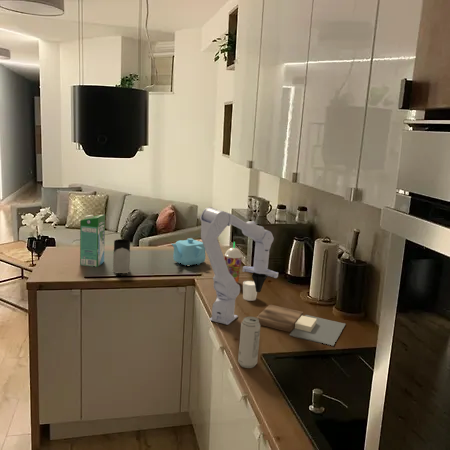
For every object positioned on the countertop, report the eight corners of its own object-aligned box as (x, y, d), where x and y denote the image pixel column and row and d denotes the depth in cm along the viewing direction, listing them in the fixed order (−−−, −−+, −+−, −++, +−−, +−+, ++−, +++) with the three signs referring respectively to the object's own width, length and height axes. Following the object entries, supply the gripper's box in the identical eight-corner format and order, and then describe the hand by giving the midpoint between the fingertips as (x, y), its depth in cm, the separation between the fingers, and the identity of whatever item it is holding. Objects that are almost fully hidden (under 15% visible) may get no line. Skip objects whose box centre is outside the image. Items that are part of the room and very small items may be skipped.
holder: (112, 274, 228) (112, 243, 225) (111, 265, 242) (112, 236, 239) (131, 273, 231) (131, 243, 227) (129, 265, 244) (130, 236, 241)
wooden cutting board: (290, 332, 177) (291, 325, 177) (255, 323, 183) (255, 317, 182) (302, 317, 192) (303, 311, 191) (269, 310, 197) (269, 304, 197)
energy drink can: (241, 357, 155) (245, 314, 152) (259, 362, 153) (263, 318, 150) (235, 365, 150) (238, 320, 147) (253, 370, 148) (257, 325, 145)
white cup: (256, 302, 205) (257, 286, 204) (240, 299, 207) (241, 284, 205) (258, 296, 212) (259, 281, 210) (243, 294, 213) (244, 279, 212)
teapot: (177, 257, 263) (178, 233, 260) (207, 260, 261) (208, 236, 258) (169, 267, 246) (170, 241, 243) (200, 270, 243) (202, 244, 241)
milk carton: (87, 260, 247) (87, 212, 242) (104, 262, 246) (105, 214, 241) (79, 265, 238) (80, 215, 233) (97, 267, 237) (98, 217, 232)
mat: (333, 346, 168) (333, 345, 168) (289, 335, 175) (289, 334, 174) (345, 324, 188) (345, 323, 188) (305, 315, 194) (305, 314, 194)
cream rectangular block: (310, 332, 178) (310, 326, 177) (294, 328, 180) (295, 323, 180) (316, 323, 186) (316, 318, 185) (301, 320, 188) (301, 315, 188)
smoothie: (234, 287, 222) (237, 245, 218) (219, 283, 226) (221, 241, 222) (243, 282, 229) (246, 242, 225) (228, 278, 233) (231, 238, 229)
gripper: (281, 259, 191) (278, 292, 194) (248, 253, 197) (245, 285, 200) (276, 264, 185) (273, 297, 188) (241, 257, 191) (238, 289, 194)
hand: (258, 291), depth 194 cm, fingers closed
